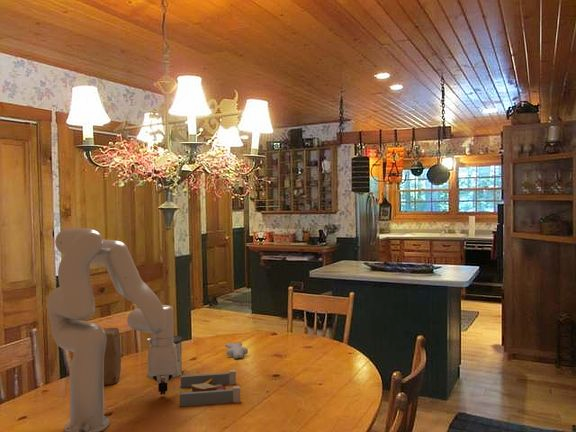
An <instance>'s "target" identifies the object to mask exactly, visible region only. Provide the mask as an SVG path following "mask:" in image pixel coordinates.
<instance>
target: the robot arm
mask: <svg viewBox="0 0 576 432" xmlns="http://www.w3.org/2000/svg"><path fill="white" fill-rule="evenodd" d="M54 241H55V247H56V249H57V251H58V252H59V253H60V254H62V255H63V257H62V258H61V260H60V261H59V265H58V269H57V276H58V277H57V278H58V283H59V287H56V288H55V289H54V290H52V292H51V293H50V294H49V296H48V298H47V303H46V309H47V314H48V318H49V323H50V328H51V333H52V336H53V339H54V342H55V344H56V345H57V346H58V347H59V348H61V349H63V350H66V351H69V352H71V353H73V355H72V358H71V363H70V365H69V417H70V418H69V421H67V423H66V424H65V425H64V432H102V431H104V430H106V429H107V428H108V427H109V426H110V420H111V419H110V418H109V417H108V416H106V415H105V385H104V353H105V348H106V342H107V336H106V333H105V331H104V328H103V327H102V326H101V325H99V324H97V323H94V322H90V321H86V320H88V319H90V318H91V317H92V316H93V315H94V314H95V311H96V301H95V296H94V290H93V287H92V286H93V285H92V281H91V276H90V275H91V274H90V269H91V265H96V266H104V267H105V270H106V271H107V273H108V276H109V277H110V280H111V282H112V284H113V287H114V289H115V291H116V292H118V293H119V295H120V296H122V297H124V298H125V299H127V300H128V301H129V302H131V303H132V304H134V305H135V306H136V307H137V308H135V309H133V310H131V311H130V312H129V313H128V315H127V318H126V321H127V323H126V324H127V325H128V326H129V327H130V329H132V330H134V331H139V332H143V333H148V334H151V335H150V338H147V339H146V343H148V344H150V345H149V346H148V349H147V350H148V351H147V363H146V364H147V367H146V368H147V369H146V370H147V371H146V372H147V375H146V378H147V379H152V380H154V381H156V382H157V384H158V385H157V386H158V393H159V392H160V393H159V394H160V396H162V395H164V396H165V395H166V392H168V382H169V381H170V380H171V379H172V378H176V377H175V376H177V377H179V376H178V374H179V373H178V360H177V349H176V345H175V343H174V336H175V335H174V308H173V306H171V305H168V304H162V302H161V300H160V298H159V297H158V295H157V294H156V293H155V292H154V291H153V290H152V289H151V288H150V287H149V286H148V285H147V283H145V282H144V280H143V279H142V277H141V275H140V273H139V271H138V269H137V268H138V267H136V264H135V262H134V259H133V257H132V255H131V252H130V250H129V248H128V246H127V245H126V243H124V242H123V241H120V240H117V239H116V240H115V239H103V237H102V235H101V233H100V231H97V230H95V229H92V228H86V227H85V228H82V227H81V228H77V227H76V228H74V227H70V228H69V227H68V228H65V229H62V230H61V231H59V232H58V233H57V235H56V237H55V240H54ZM161 375H165V378H161Z"/></svg>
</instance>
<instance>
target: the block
mask: <svg viewBox="0 0 576 432" xmlns="http://www.w3.org/2000/svg"><path fill="white" fill-rule="evenodd" d="M103 329H104V331H105V333H106V336H107V342H106V348H105V353H104V386H107V385H113V384H116V383H118V382H119V381H120V377H121V369H122V365H121V363H122V353H121V352H122V348H121V338H120V331H119V328H118V327H108V328H107V327H105V328H103Z"/></svg>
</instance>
